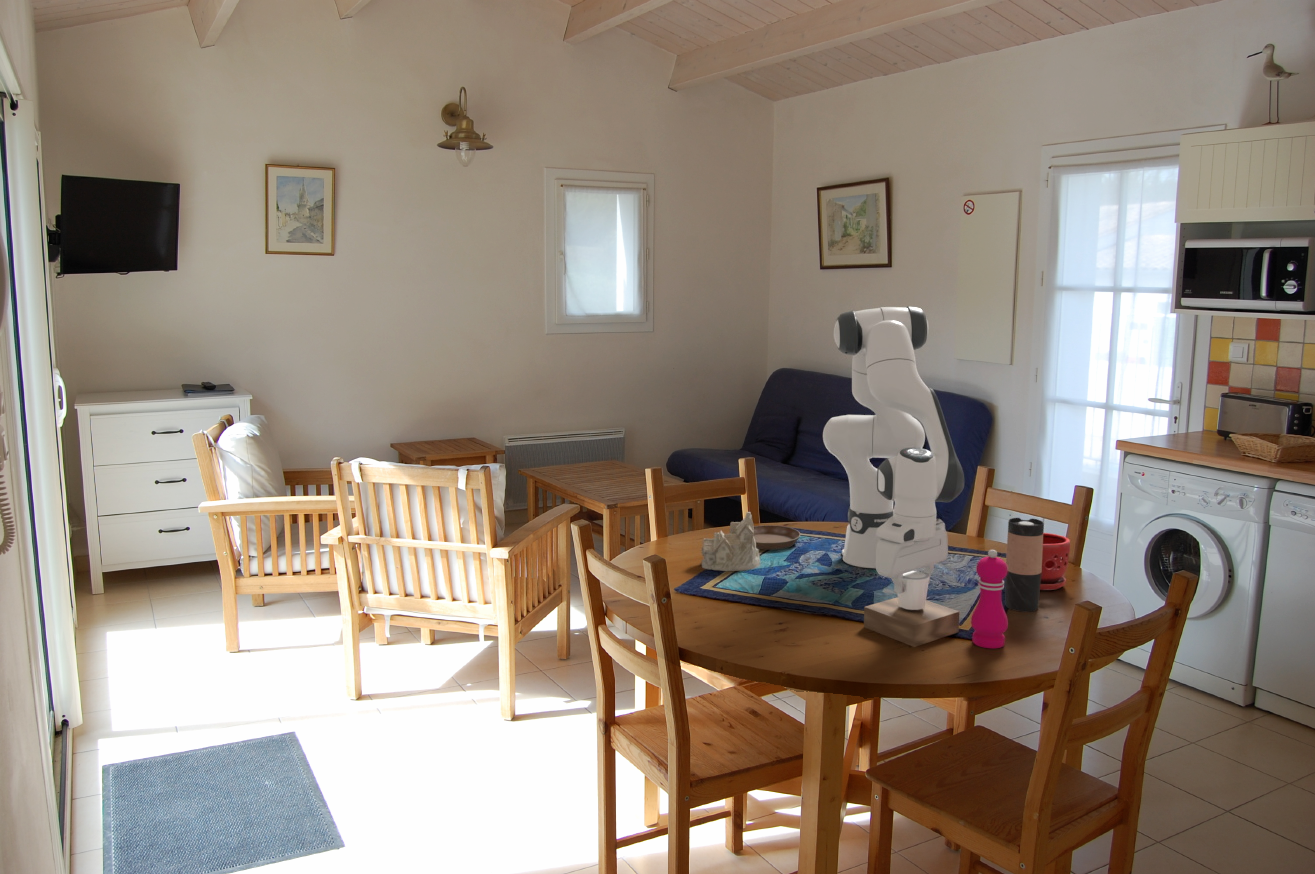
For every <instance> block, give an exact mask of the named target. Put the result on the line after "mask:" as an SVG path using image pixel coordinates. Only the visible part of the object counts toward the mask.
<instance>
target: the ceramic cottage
mask: <svg viewBox="0 0 1315 874" xmlns="http://www.w3.org/2000/svg"><path fill="white" fill-rule="evenodd" d="M729 525H730V526H729V533H727V534H726V533H724V532H723V531H722V530H721V529H720V530H719V532H714V535H713V538H706V537H705V538H703V540H702V547H701V554H702V555H701V556H703V559H702V560H701V567H702V568H703V569H705V570H713V571H721V572H722V571H723V572H737V571H739V572H740V571H750V569H751V570H754V569H756V568H758V567H760V566H761V559H760V557H761V555H760V549H757V548H756V542H755V539H754V526H755V525H754V522H753V516H752V514H751V511H746V513H745V516H744V518H743V519H742V520H741V521H735V522H734V521H731V522H730V524H729Z"/></svg>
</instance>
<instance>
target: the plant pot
mask: <svg viewBox="0 0 1315 874" xmlns="http://www.w3.org/2000/svg"><path fill="white" fill-rule="evenodd" d="M1070 552H1071V541H1070V538H1068V537H1066V536H1065V535H1060V534H1057V533H1050V532H1049V533H1048V532H1043V550H1042V572H1041V583H1040V591H1052V590H1053V591H1056V590H1058V589H1060V588H1062V587H1064V586H1065V584H1067V583H1066V582H1067V579H1066V577H1064V574H1065V573H1066V570H1067V567H1068V565H1069V558H1070V557H1069V556H1070Z"/></svg>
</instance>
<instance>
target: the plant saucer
mask: <svg viewBox="0 0 1315 874" xmlns="http://www.w3.org/2000/svg"><path fill="white" fill-rule="evenodd" d="M800 537H801V532H800V530H797V529H796V528H792V527H788V526H784V525H775V524H774V525H769V524H768V525H754V539H755V542H756V548H757V549H758V550H765V551H766V550H767V551H769V550H771V551H773V550H774V551H775V550H776V551H777V550H784V549H788V548H791V547H792V546H793V545H794V544H796V543H797V541H798V540H799V538H800Z"/></svg>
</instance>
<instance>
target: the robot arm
mask: <svg viewBox="0 0 1315 874" xmlns="http://www.w3.org/2000/svg"><path fill="white" fill-rule="evenodd" d="M929 328H930V325H929V321H928V319H927V316H926V313H925V311H924V310H922V309H921V308H919V307H916V306H906V307H901V306H900V307H898V306H885V307H884V306H881V307H877V308H869V309H868V308H867V309H862V310H857V311H854V310H850V311H845V312H843V313H841V314H839V315H838V317H837V318H836V321H835V324H834V328H833V340H834V342H835V344H836V347H837V350H838V351H840V352H841V353H842V354H844V355H849V356H852V361H851V392H852V393H851V394H852V396H853V397H854V399H855V401H857V402H858V403H859V404H860V405H862V406H863V407H864V408H868V409H869V410H871V411H872V412H874V415H873V414H872V415H871V414H865V415H864V414H846V415H844V414H843V415H839V416H833V417H831V418H830V419H829V420H828V421H827V422H826V424H825V425H824V427H823V431H822V440H823V444H824V446H825V448H826V449H827V451H828V452H829V453H830V454H832V455H833V456H835V458H836V459H837V460H838V461H839V462H840V463H841V465H842V466H843V468H844V470H845V471H846V474H847V477H848V482H849V483H848V484H849V496H850V497H849V504H850V506H849V507H848V512H847V521H848V525H846V526H847V527H846V532H845V540H844V548H843V549H842V550H841V555H842V560H843V562H845V563H846V564H848V565H850V566H853V567H854V566H855V567H858V568H865V569H866V568H867V569H876V572H877V574H879V575H880V576H882V577H885V578H890V579H891V581H892V583H893V590H894V593H896V594H897V593H898V594H900V593H903V592H905V585H904V584H902V581H901V579H902V578H903V574H904V573H907V572H910V571H913V570H920V569H922V571H924V572H926V573H928V574H929V582H928V585H930V583H931V576H932V574H933V572H934V569H935V564H938V563H942V562H945V561H946V560H947V557H948V555H949V543H948V542H949V541H948V533H947V530H946V524H945V522H944V521H943V520H942V519H940V518H937V507H936V502H937V503H951V502H952V501H954V500H955V499H956V498H958V496H959V495H960V494H961V493H962V492H963V490H964V487H965V473H964V470H963V467H962V465H961V462H960V461H959V458H958V456H957V453H956V451H955V448H954V445H953V442H952V438H951V435H950V432H949V429H948V426H947V423H946V420H945V416H944V413H943V409H942V407H941V404H940V401H939V399H938V396H937V394H936V392H935V391H934V389H933V388H931V387H929V386H927V385H926V384H925V382H924V380H922V378H921V376H920V374H919V371H918V369H917V368H918V367H917V363H916V362H917V361H916V355H915V351H917V350H919V349H922V347H923V346H924V345H925V344H926V343H927V340H928V339H927V338H928V335H929V332H930V331H929V330H930V329H929ZM926 438H927V442H928V446H929V448H930V450H928V449H925V448H923V447H924V445H925V440H926ZM872 458H879V459H880V458H881V459H884V460H883V461H882V462H881V463H880V464H879V466H878V467H877V468H876V467H875V466H873V464H872V463H871V462H870V460H871V459H872ZM898 594H897V595H898Z"/></svg>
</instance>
